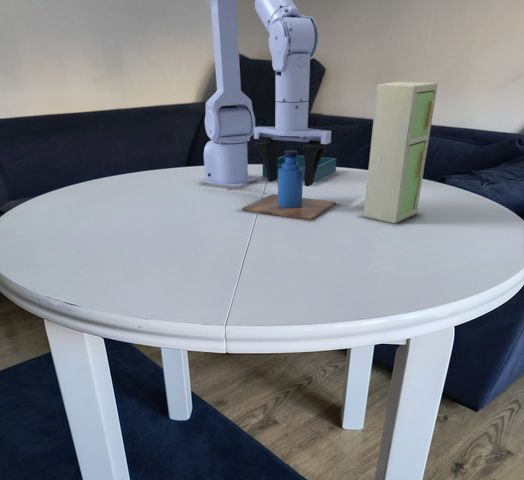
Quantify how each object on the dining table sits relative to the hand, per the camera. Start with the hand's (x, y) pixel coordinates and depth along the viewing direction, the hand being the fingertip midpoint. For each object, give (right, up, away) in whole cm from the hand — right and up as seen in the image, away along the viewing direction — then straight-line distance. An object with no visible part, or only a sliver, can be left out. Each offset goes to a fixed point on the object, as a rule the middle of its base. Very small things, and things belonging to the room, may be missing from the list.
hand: (290, 182), depth 90 cm
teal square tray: (+4, +10, +26) cm, 28 cm away
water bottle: (0, -3, +2) cm, 4 cm away
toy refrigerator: (+18, -7, -3) cm, 20 cm away
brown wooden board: (0, -4, +2) cm, 5 cm away
